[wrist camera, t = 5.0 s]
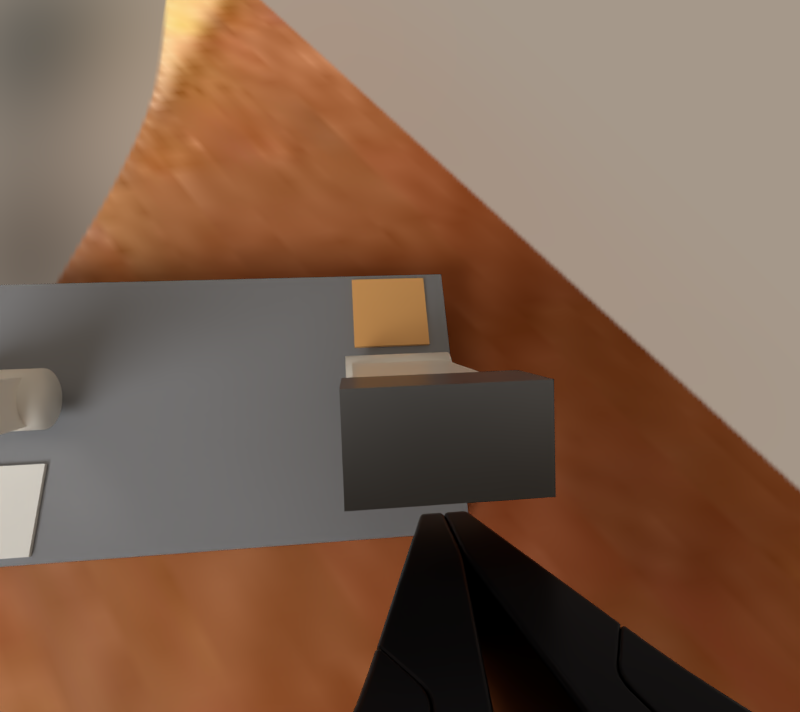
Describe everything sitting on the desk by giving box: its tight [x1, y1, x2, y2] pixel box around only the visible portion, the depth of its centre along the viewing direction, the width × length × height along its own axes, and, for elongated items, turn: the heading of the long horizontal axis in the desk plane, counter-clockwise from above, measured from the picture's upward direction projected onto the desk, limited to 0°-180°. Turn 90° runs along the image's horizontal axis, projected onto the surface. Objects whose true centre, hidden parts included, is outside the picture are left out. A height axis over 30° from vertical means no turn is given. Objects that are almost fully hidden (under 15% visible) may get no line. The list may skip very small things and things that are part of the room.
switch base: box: [0, 274, 468, 567], centre depth 17 cm, size 9×16×2 cm, turn 94°
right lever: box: [339, 352, 556, 512], centre depth 12 cm, size 2×3×9 cm, turn 94°
